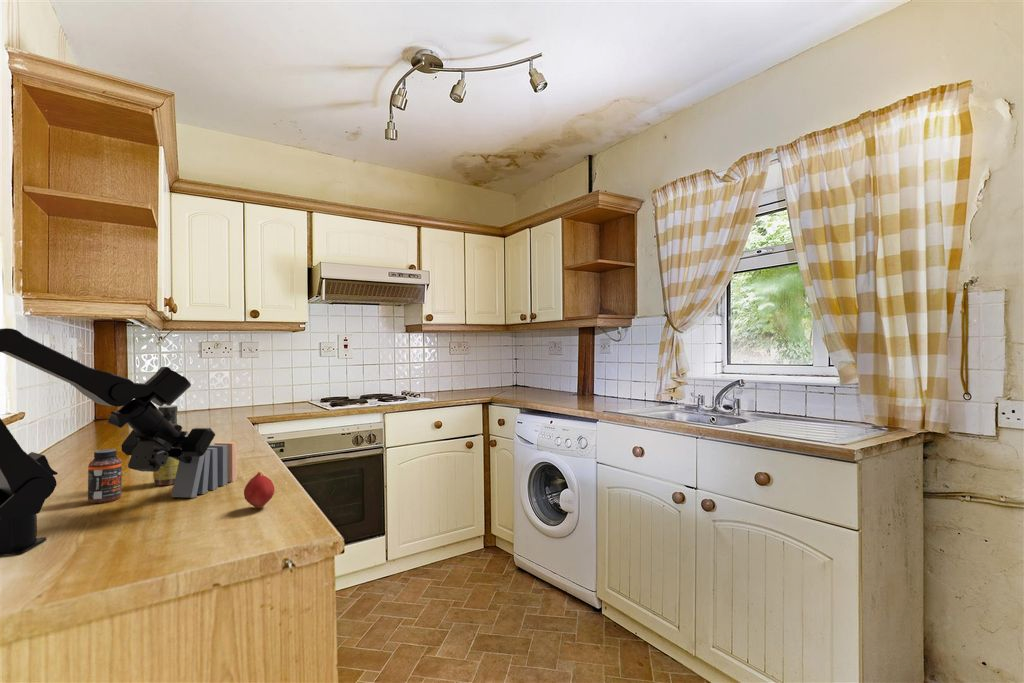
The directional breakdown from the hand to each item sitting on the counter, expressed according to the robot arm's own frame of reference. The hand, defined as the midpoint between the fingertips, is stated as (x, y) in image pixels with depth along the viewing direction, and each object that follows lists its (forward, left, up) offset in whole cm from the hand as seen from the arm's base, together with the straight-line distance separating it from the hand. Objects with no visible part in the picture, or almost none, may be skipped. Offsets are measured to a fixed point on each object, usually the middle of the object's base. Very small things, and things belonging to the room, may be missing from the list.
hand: (189, 461), depth 115 cm
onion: (-13, -18, -8) cm, 24 cm away
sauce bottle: (+14, +10, -8) cm, 19 cm away
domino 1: (-1, +1, -8) cm, 8 cm away
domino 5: (+12, -4, -8) cm, 15 cm away
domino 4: (+9, -3, -8) cm, 12 cm away
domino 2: (+2, 0, -8) cm, 8 cm away
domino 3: (+5, -2, -8) cm, 10 cm away
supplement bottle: (+2, +18, -8) cm, 20 cm away
